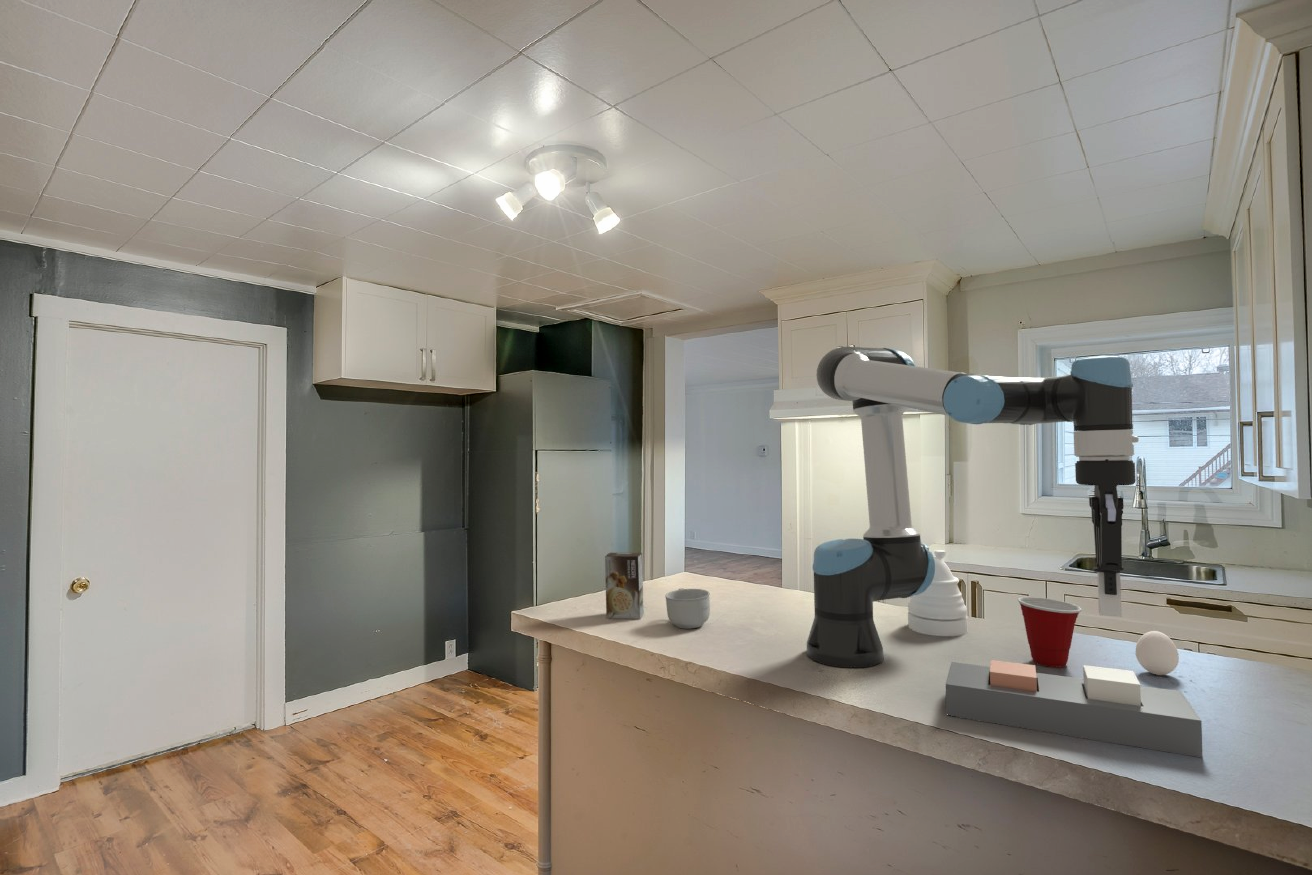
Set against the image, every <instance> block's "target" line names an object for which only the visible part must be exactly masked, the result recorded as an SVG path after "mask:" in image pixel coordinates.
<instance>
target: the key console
mask: <svg viewBox="0 0 1312 875" xmlns="http://www.w3.org/2000/svg"><path fill="white" fill-rule="evenodd" d="M1036 677H1037V692H1036V691H1029V690H1022V689H1015V688H1008V687H1001V686H993V685H990V666H987V665H980V664H972V663H964V662H957V661H955V662H954V661H951V662H950V665H949V670H948V673H947V676H946V681H945V710H946V711H945V713H946V714H948V715H951V716H950V717H952V716H956V717H955V718H958V717H959V718H960V719H964V718H967V719H966V720H971V719H972V720H971V721H977V720H980V721H979V722H983V721H985V722H984V723H989V724H995V723H997V724H996V725H1001V724H1002V725H1001V726H1007V725H1008V727H1013V728H1019V727H1021V728H1020V729H1025V728H1026V729H1027V730H1033V731H1039V732H1044V731H1046V732H1045V733H1050V732H1053V733H1052V734H1056V733H1057V735H1063V736H1068V737H1076V738H1083V739H1087V740H1092V741H1093V740H1094V741H1098V742H1099V741H1100V742H1104V743H1105V742H1106V743H1111V744H1116V745H1123V746H1128V747H1129V746H1130V747H1134V748H1141V749H1148V750H1153V751H1154V750H1155V751H1160V752H1165V753H1166V752H1167V753H1173V754H1177V755H1179V754H1180V755H1183V756H1190V757H1197V758H1203V756H1204V755H1203V730H1202V729H1203V727H1202V726H1203V724H1202V719H1201V717H1200V716H1199V715H1198V713H1197V712H1196V711H1195V709H1194V708H1193V707H1192V704H1191V703H1190V701H1188V698H1187V697H1186V696H1185V695H1184V694H1183V692H1182V691H1181V690H1175V689H1167V688H1159V687H1158V688H1157V687H1150V686H1144V685H1143V686H1142V685H1140V692H1141V706H1136V705H1129V704H1122V703H1115V702H1108V701H1101V700H1093V699H1086V696H1085V692H1084V678H1082V677H1081V678H1080V677H1072V676H1066V675H1065V676H1064V675H1057V674H1050V673H1043V672H1042V673H1041V672H1036ZM946 714H945V715H946Z"/></svg>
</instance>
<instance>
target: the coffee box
mask: <svg viewBox="0 0 1312 875" xmlns="http://www.w3.org/2000/svg"><path fill="white" fill-rule="evenodd" d="M604 573H605V574H604V575H605V576H604V577H605V578H604V579H605V608H606V610H605V611H606V612H605V613H606V617H605V618H606V619H617V620H618V619H620V620H621V619H623V620H624V619H625V620H626V619H628V620H629V619H630V620H631V619H633V620H641V619H642V617H643V616H644V614H645V609H644V607H645V606H644V577H643V574H644V571H643V552H609V553H607V554H606V555H605V556H604Z"/></svg>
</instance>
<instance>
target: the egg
mask: <svg viewBox="0 0 1312 875" xmlns="http://www.w3.org/2000/svg"><path fill="white" fill-rule="evenodd" d="M1135 657H1136V659H1137V661H1138V664H1140V666H1141V667H1142V668H1143V669H1144V670H1145V671H1147V672H1148V673H1150V674H1153V675H1155V674H1156V675H1155V676H1166V675H1168V674H1171V673H1172V672H1174V671H1175V669H1176V668H1177V667H1178V665H1179V660H1180V656H1179V651H1178V648H1177V646H1176V645H1175V643H1174V642H1173V639H1171V638H1170V637H1169V636H1168V635H1166V634H1165V633H1163V632H1160V631H1158V630H1152V631H1151V630H1150V631H1147V632H1146V633H1144V634H1143V635H1141V636H1140V638H1139V639H1138V641H1137V642H1136V646H1135Z"/></svg>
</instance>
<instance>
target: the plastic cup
mask: <svg viewBox="0 0 1312 875" xmlns="http://www.w3.org/2000/svg"><path fill="white" fill-rule="evenodd" d="M1017 601H1018V603H1019V605H1020V610H1021V614H1022V616H1023V620H1024V621H1023V622H1024V627H1025V628H1024V629H1025V632H1026V637H1027V644H1028V646H1029V650H1030V656H1031V657H1030V658H1031V659H1032V661H1033V663H1035V664H1036V663H1038V664H1037V665H1039V664H1040V665H1039V666H1042V665H1043V667H1050V668H1063V667H1064V666H1065V665H1066V664H1068V662H1069V655H1070V649H1071V646H1072V642H1073V641H1072V640H1073V634H1074V631H1075V630H1074V629H1075V625H1076V622H1077V619H1078V617H1079V614H1080V613H1081V612H1082V608H1081V607H1080V606H1079V605H1077V604H1074V603H1070V602H1067V601H1062V600H1057V599H1054V598H1053V599H1051V598H1045V597H1039V596H1038V597H1037V596H1036V597H1034V596H1033V597H1032V596H1022V597H1018V598H1017ZM1066 666H1067V665H1066ZM1066 666H1065V667H1066Z"/></svg>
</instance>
